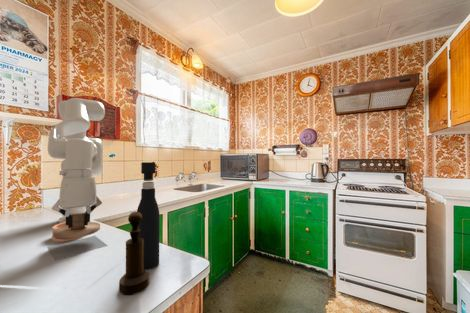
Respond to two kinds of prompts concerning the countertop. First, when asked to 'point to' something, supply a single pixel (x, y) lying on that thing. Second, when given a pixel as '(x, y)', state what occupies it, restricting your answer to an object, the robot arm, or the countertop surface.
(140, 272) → the dark brown knobbed cylinder
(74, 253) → the mat
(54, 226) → the bowl
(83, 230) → the lid
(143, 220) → the wine bottle
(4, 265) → the countertop surface
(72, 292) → the countertop surface
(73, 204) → the robot arm
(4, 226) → the countertop surface
